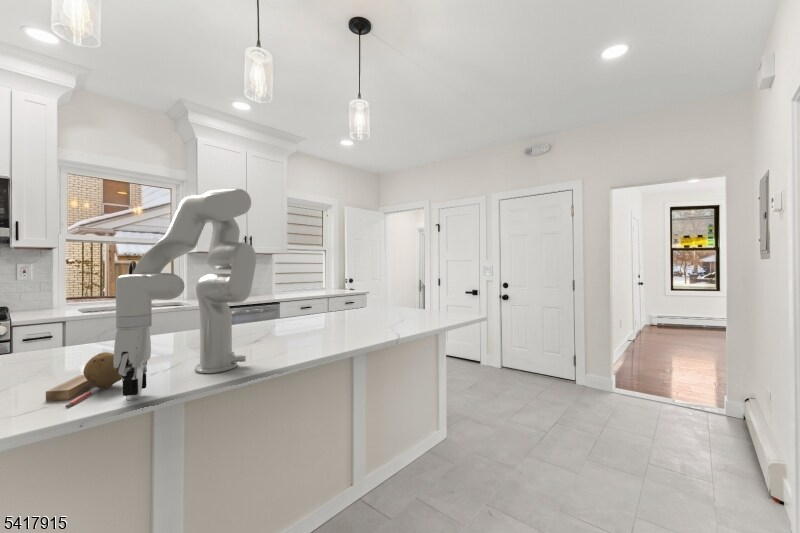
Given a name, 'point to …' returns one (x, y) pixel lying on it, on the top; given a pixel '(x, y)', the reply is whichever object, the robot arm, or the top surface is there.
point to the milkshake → (139, 377)
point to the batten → (68, 389)
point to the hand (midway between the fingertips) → (134, 391)
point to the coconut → (102, 370)
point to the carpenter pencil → (78, 399)
